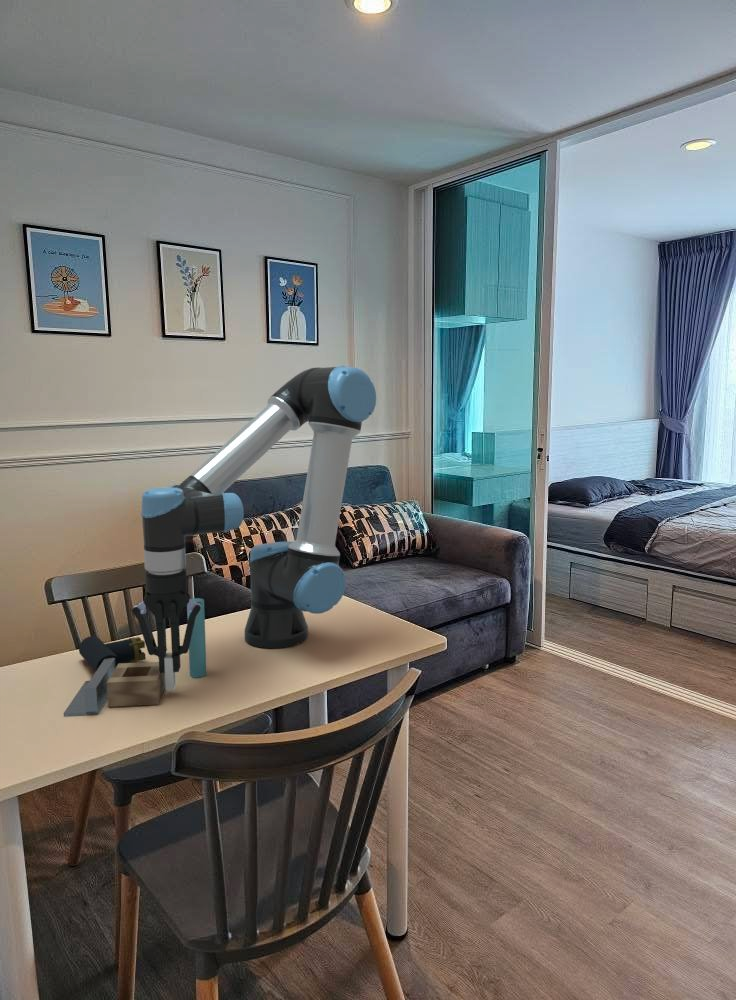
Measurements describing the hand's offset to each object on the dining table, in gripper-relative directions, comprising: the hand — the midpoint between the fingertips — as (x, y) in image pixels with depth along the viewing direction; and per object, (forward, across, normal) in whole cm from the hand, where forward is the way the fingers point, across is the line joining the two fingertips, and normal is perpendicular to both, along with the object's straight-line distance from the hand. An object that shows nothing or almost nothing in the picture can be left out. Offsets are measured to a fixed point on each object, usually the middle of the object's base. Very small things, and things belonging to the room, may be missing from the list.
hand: (170, 687), depth 132 cm
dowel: (+2, -4, -9) cm, 10 cm away
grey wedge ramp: (+2, +15, 0) cm, 15 cm away
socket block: (+2, +6, 0) cm, 6 cm away
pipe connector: (+2, +14, -16) cm, 21 cm away
